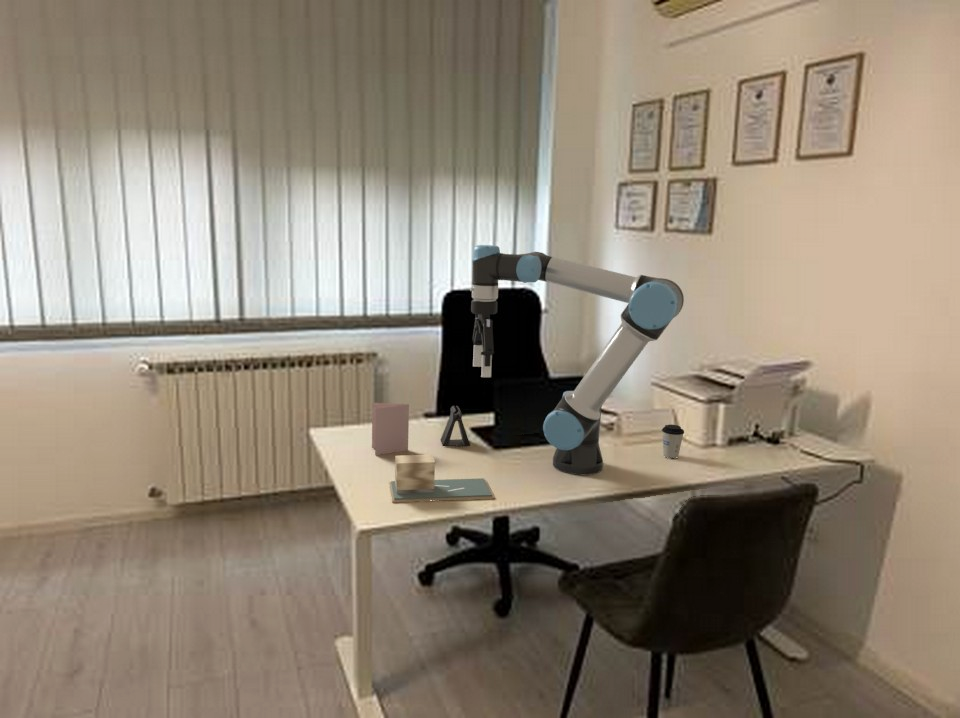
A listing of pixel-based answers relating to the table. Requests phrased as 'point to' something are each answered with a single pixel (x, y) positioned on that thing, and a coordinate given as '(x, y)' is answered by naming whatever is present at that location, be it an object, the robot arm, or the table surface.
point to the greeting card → (390, 427)
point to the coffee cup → (672, 440)
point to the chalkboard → (447, 491)
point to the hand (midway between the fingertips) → (481, 371)
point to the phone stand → (449, 428)
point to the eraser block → (414, 474)
